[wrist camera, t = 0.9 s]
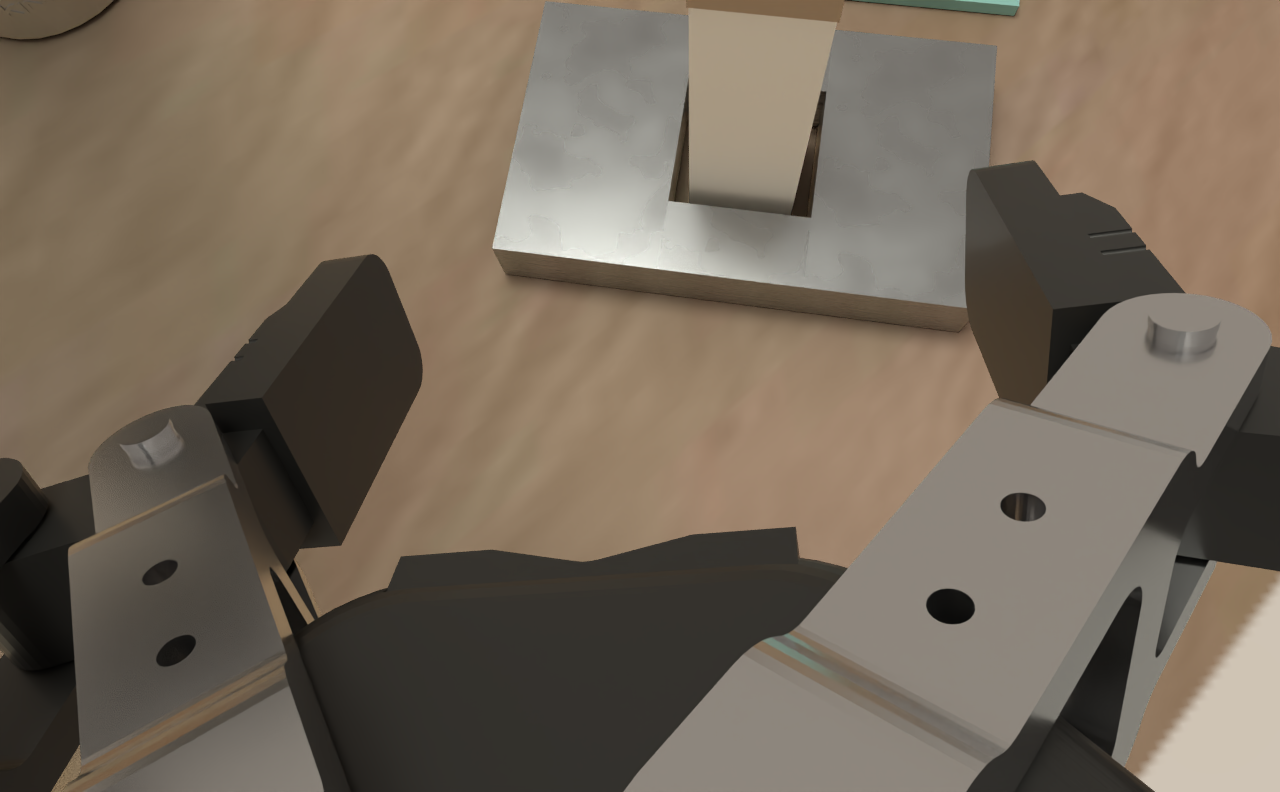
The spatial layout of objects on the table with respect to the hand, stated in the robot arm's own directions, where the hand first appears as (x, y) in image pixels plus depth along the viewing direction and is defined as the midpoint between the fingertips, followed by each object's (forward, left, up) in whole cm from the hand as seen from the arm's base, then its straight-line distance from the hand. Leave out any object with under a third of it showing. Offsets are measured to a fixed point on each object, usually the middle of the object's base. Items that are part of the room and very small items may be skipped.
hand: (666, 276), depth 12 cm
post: (-10, +9, -22) cm, 26 cm away
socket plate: (-10, +9, -22) cm, 26 cm away
